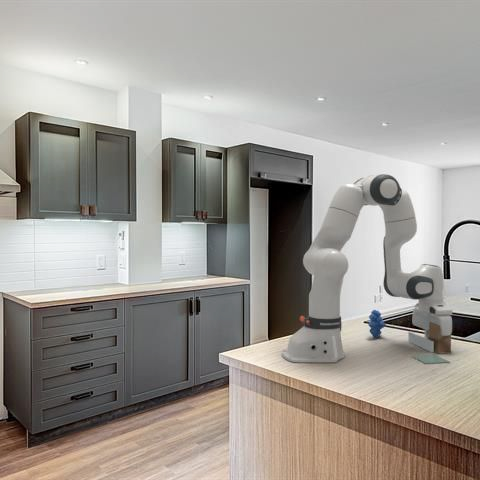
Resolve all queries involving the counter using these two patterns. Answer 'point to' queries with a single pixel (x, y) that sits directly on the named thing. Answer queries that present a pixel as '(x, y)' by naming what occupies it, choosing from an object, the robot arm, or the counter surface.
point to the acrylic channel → (421, 341)
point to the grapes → (376, 323)
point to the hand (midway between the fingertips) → (430, 342)
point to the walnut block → (439, 339)
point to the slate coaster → (430, 359)
